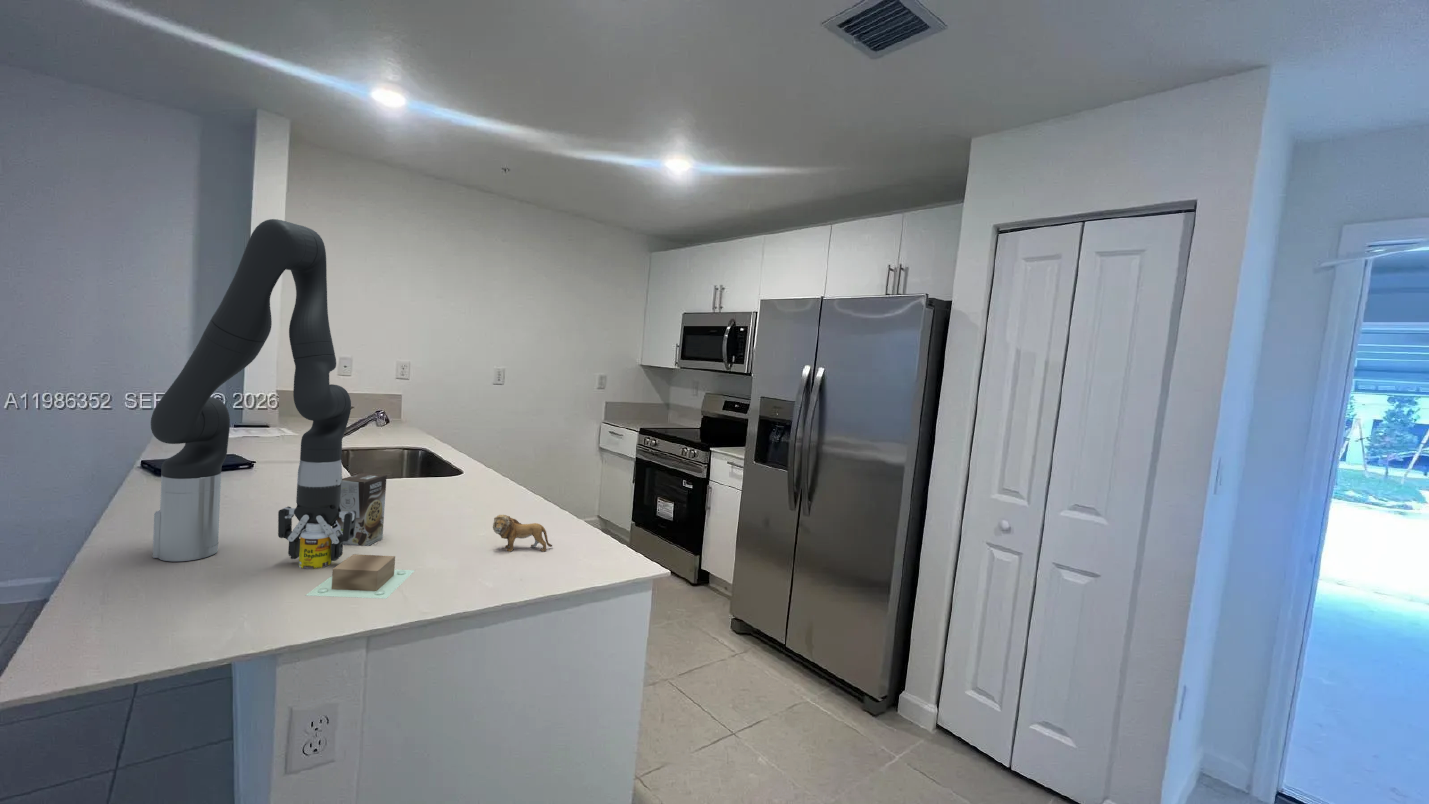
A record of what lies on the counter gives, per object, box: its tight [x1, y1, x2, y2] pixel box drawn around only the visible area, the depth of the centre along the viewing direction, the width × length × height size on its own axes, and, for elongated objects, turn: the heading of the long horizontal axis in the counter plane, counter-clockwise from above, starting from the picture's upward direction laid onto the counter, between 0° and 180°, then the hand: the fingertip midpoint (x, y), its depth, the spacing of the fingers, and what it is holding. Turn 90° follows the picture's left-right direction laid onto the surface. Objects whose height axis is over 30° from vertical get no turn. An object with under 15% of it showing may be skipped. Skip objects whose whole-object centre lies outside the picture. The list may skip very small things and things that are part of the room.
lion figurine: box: [492, 514, 553, 553], centre depth 142 cm, size 15×5×9 cm, turn 114°
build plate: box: [304, 568, 416, 600], centre depth 112 cm, size 14×14×2 cm
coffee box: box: [337, 472, 388, 547], centre depth 135 cm, size 9×6×16 cm
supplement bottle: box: [298, 523, 333, 570], centre depth 118 cm, size 6×6×10 cm
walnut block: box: [331, 553, 396, 591], centre depth 112 cm, size 8×8×4 cm
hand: (315, 558), depth 118 cm, fingers open, 7 cm apart
